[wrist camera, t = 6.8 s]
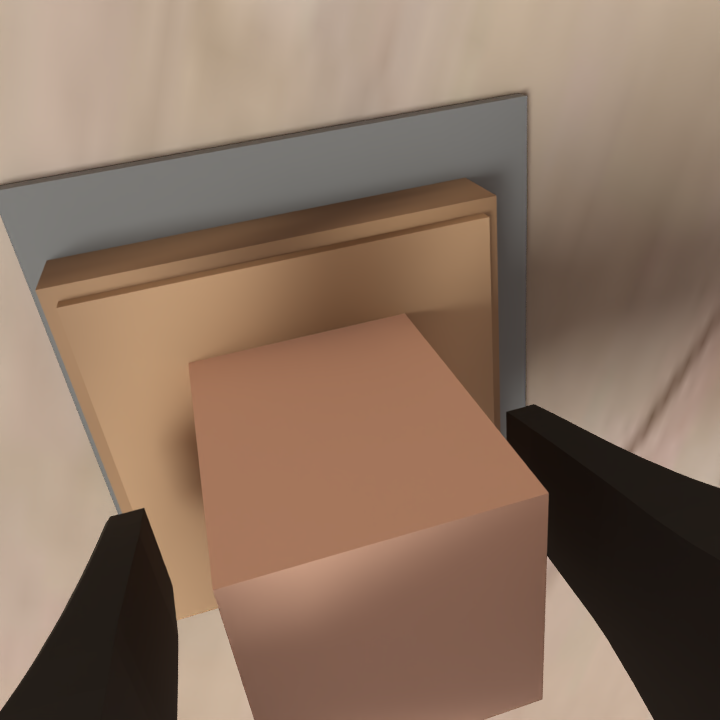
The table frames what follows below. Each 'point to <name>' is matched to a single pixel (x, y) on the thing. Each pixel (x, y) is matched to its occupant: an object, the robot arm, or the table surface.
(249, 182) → the mat
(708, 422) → the table surface
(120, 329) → the pedestal
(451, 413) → the block
